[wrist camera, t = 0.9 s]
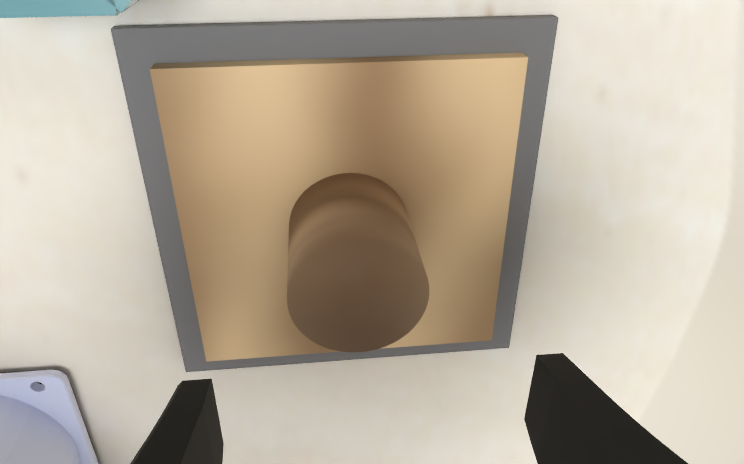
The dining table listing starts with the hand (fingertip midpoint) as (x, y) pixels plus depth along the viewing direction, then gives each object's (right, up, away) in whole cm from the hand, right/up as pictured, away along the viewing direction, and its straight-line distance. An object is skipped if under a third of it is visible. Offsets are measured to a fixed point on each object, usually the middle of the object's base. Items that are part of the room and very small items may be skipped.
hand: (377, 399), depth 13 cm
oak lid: (-1, +4, +7) cm, 9 cm away
